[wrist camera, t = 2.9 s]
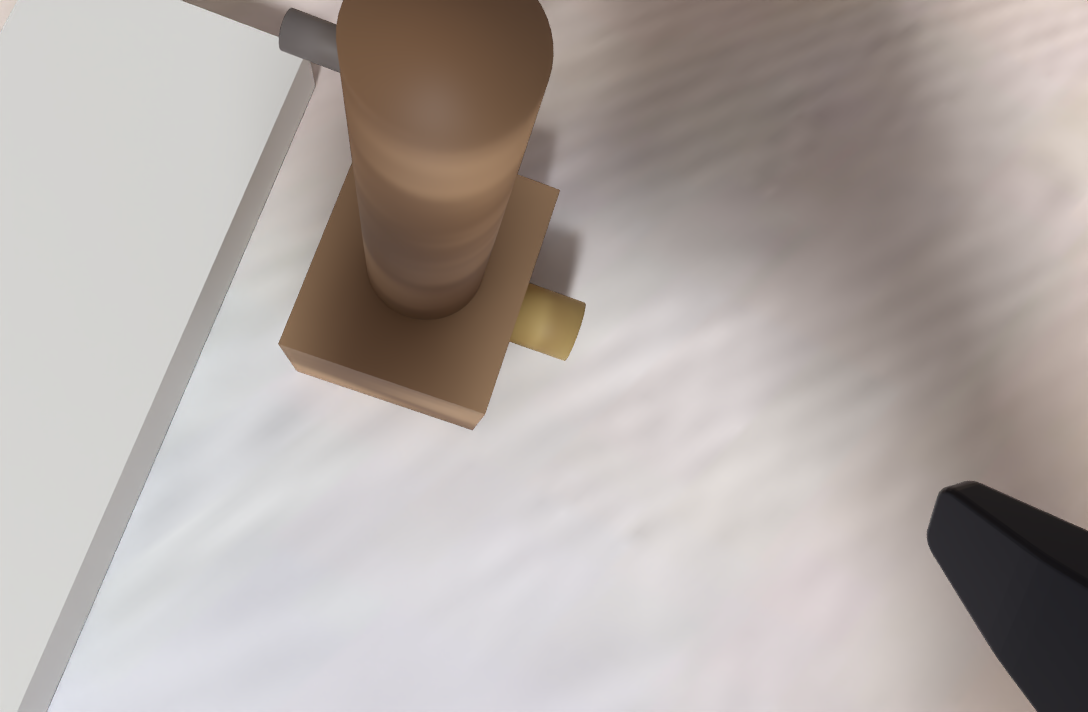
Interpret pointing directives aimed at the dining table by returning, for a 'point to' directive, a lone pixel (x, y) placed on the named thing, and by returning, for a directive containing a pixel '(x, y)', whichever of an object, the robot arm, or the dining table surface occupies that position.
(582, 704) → the dining table surface
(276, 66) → the board
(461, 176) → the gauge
